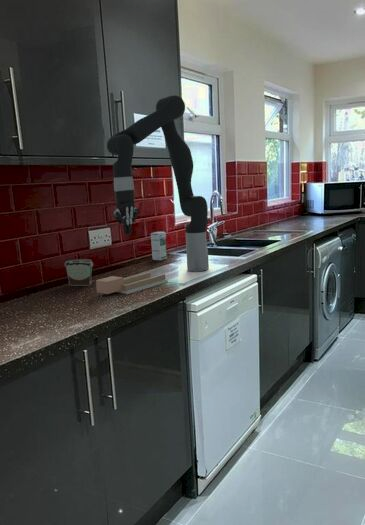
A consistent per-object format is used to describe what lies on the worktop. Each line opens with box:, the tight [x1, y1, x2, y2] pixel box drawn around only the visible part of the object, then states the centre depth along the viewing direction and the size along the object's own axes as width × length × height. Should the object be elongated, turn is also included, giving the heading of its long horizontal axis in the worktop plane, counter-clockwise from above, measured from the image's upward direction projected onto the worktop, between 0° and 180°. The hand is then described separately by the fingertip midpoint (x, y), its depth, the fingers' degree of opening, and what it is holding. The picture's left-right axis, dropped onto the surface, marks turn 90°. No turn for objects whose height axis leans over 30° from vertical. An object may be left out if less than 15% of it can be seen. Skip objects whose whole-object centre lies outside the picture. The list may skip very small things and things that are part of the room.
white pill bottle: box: [150, 231, 168, 261], centre depth 230 cm, size 6×6×14 cm
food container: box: [64, 258, 94, 287], centre depth 180 cm, size 12×6×10 cm, turn 74°
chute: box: [116, 271, 169, 295], centre depth 172 cm, size 22×12×3 cm, turn 140°
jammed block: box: [95, 275, 124, 295], centre depth 161 cm, size 8×6×4 cm
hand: (128, 234), depth 170 cm, fingers closed
